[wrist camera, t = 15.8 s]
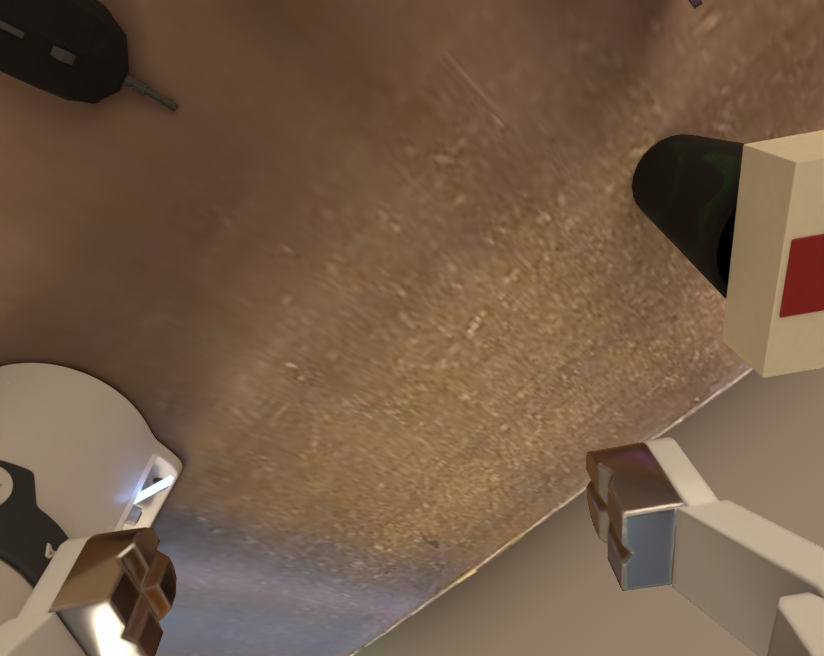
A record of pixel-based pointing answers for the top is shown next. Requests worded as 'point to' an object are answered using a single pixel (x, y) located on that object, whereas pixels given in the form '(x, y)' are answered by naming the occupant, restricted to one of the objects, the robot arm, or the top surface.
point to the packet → (778, 257)
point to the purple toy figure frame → (695, 3)
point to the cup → (693, 198)
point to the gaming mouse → (67, 49)
